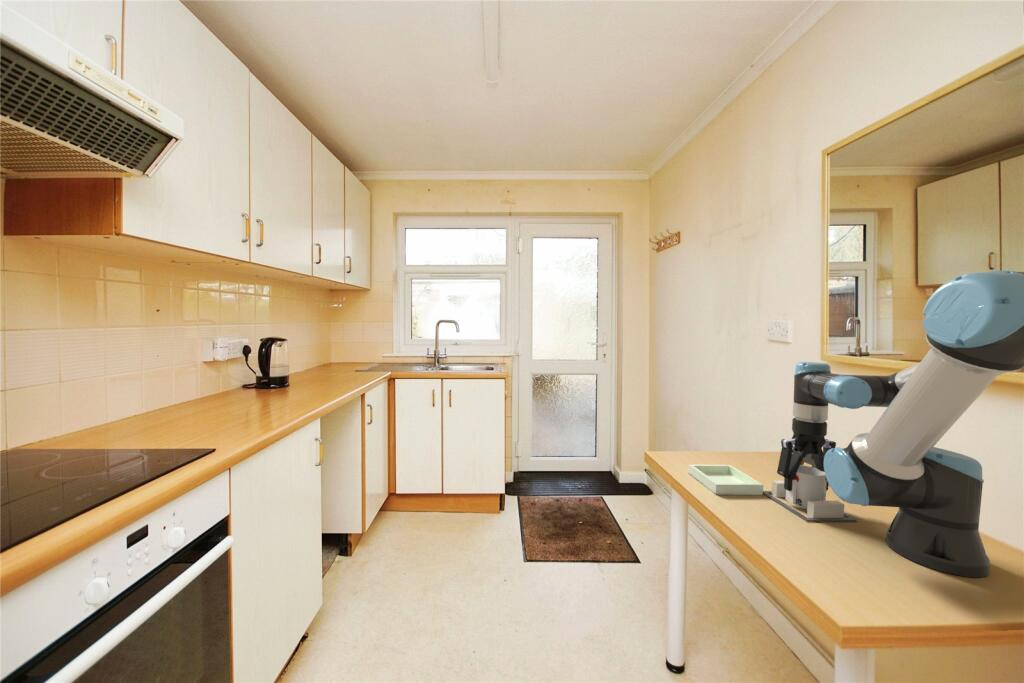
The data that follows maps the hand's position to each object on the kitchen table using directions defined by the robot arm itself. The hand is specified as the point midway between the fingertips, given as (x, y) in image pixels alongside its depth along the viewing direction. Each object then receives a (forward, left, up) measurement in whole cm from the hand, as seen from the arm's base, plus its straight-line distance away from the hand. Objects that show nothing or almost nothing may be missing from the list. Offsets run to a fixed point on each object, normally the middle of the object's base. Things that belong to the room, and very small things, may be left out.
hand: (805, 501), depth 107 cm
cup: (0, 0, -1) cm, 1 cm away
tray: (+15, +14, -1) cm, 21 cm away
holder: (0, 0, -1) cm, 1 cm away
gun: (+17, -23, -2) cm, 29 cm away
